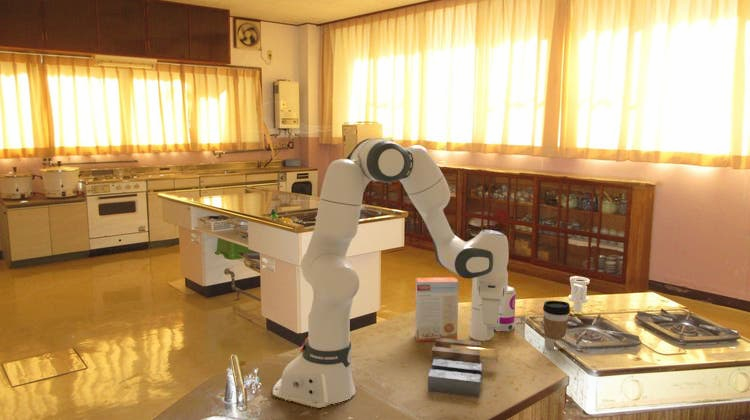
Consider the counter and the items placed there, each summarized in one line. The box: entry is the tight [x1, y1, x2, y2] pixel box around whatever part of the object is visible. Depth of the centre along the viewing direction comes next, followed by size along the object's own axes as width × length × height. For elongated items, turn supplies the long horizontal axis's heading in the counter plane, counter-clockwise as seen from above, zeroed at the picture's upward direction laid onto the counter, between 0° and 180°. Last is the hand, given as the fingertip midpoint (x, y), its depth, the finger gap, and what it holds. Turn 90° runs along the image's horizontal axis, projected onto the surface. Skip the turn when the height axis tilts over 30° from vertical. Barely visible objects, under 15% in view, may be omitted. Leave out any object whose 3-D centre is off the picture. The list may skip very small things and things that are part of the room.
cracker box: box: [414, 276, 460, 342], centre depth 185 cm, size 14×6×21 cm, turn 92°
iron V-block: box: [427, 359, 483, 398], centre depth 153 cm, size 14×11×4 cm
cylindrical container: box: [469, 277, 492, 342], centre depth 186 cm, size 7×7×25 cm
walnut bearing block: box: [430, 337, 482, 369], centre depth 166 cm, size 14×10×6 cm
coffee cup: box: [542, 300, 571, 351], centre depth 179 cm, size 8×8×15 cm
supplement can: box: [494, 285, 517, 332], centre depth 194 cm, size 8×8×15 cm
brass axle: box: [450, 345, 498, 363], centre depth 164 cm, size 14×4×4 cm, turn 76°
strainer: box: [568, 275, 590, 312], centre depth 210 cm, size 7×7×15 cm
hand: (490, 329), depth 162 cm, fingers open, 8 cm apart
